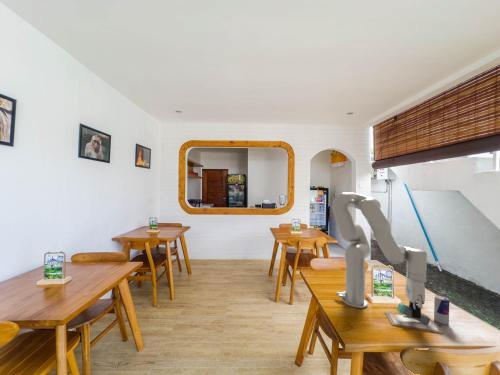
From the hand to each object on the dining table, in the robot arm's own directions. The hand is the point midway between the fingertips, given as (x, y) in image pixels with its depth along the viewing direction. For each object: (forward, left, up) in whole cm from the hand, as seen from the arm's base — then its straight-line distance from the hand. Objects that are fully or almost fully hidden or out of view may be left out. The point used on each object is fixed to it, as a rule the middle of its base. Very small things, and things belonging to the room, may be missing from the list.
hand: (414, 315), depth 108 cm
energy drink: (+12, +4, -4) cm, 13 cm away
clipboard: (-1, 0, -4) cm, 4 cm away
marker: (+5, 0, -1) cm, 5 cm away
